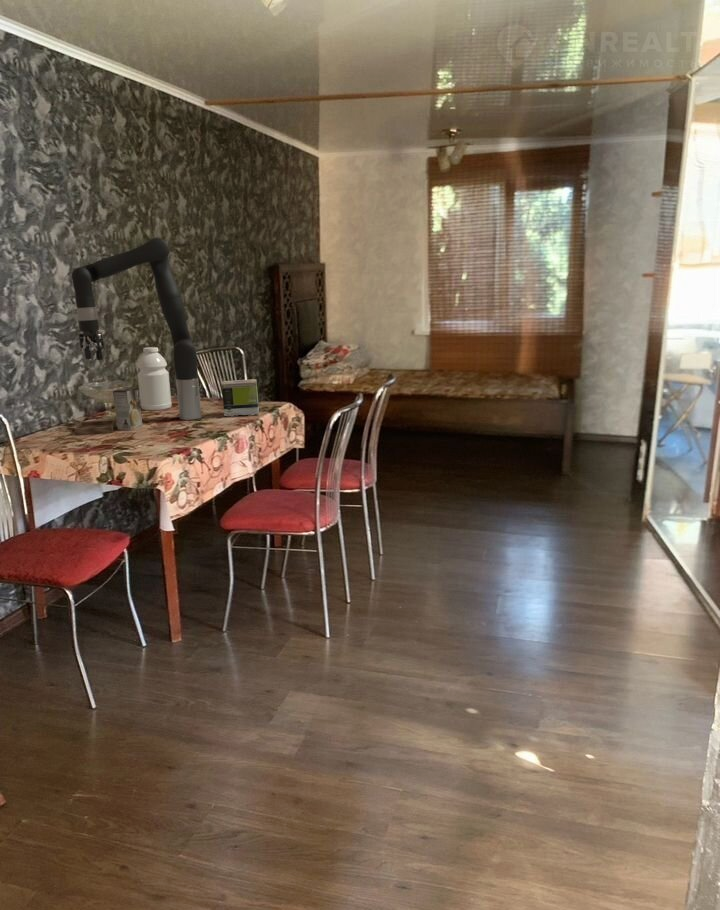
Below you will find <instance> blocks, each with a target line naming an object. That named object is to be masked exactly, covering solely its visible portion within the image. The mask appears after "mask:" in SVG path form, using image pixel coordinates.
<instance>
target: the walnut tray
mask: <svg viewBox="0 0 720 910" xmlns="http://www.w3.org/2000/svg"><path fill="white" fill-rule="evenodd" d="M116 427H117V419H109V420H108V419H107V420H93V421H80V422H79V423H78V424H77V425H76V426H75V428H74V430H73V431H74V436H85V435H87V436H88V435H99V434H100V435H101V434H102V435H103V434H113V433H114V431H115V429H116Z"/></svg>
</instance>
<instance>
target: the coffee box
mask: <svg viewBox="0 0 720 910" xmlns="http://www.w3.org/2000/svg"><path fill="white" fill-rule="evenodd" d="M112 395H113V402H114V408H115V409H114V411H115V417H116V419H115V420H116V425H117V426H116V427H117V430H118V431H132V430H135V429H137V428H138V427H139V428H140V427H142V426H143V419H142V410H141V409H142V408H141V400H140V392H139V386H136V387H129V386H128V387H122V388H119V389H115V390H112Z"/></svg>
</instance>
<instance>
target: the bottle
mask: <svg viewBox="0 0 720 910" xmlns="http://www.w3.org/2000/svg"><path fill="white" fill-rule="evenodd" d="M159 351H160V350H159V348H158V347H157V346H156V347H155V346H151V347H144V348H143V350H142V352H143V354H142V355H141V357H140V358H139V360H138V363H137V366H136V367H137V368H138V369H139V372H138V373H137V381H138V391H139V400H140V408H141V409H142V410H144V411H159V410H160V411H161V410H165V409H170V408H171V407H172V406H173V405H172V403H173V402H172V395H171V386H170V385H171V384H170V372H169V371H168V370H167V369H166V368H167V366H168V363H167V360H166V359H165V357H163V356H162V354H161V353H159Z"/></svg>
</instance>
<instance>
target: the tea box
mask: <svg viewBox="0 0 720 910" xmlns="http://www.w3.org/2000/svg"><path fill="white" fill-rule="evenodd" d="M221 395H222V406H223V415H224V416H231V417H235V416H234V415H247V414H258V413H259V414H260V412H259V411H260V409H259V406H260V405H259V393H258V382H257V379H256V378H255V379H238V380H223V381H222V383H221Z"/></svg>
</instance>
